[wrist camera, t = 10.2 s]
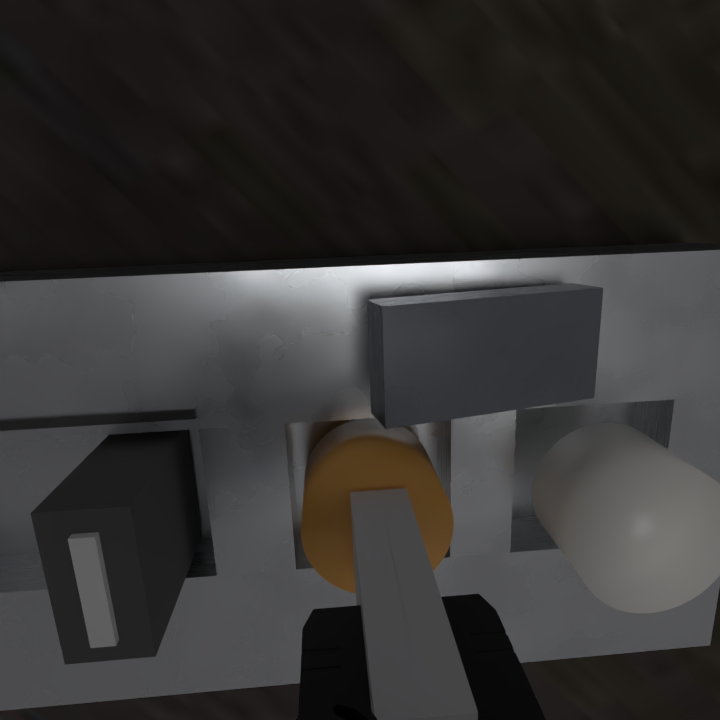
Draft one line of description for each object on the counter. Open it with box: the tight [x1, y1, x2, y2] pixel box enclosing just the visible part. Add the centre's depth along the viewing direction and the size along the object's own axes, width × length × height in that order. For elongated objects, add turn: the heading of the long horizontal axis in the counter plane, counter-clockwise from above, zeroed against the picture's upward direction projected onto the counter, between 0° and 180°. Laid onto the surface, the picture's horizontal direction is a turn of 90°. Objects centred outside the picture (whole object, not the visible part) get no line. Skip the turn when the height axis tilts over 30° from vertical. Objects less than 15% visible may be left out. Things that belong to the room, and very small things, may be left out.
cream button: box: [532, 423, 720, 613], centre depth 15 cm, size 4×4×3 cm
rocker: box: [367, 283, 603, 429], centre depth 14 cm, size 6×3×1 cm, turn 91°
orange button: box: [301, 419, 454, 594], centre depth 16 cm, size 4×4×3 cm
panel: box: [0, 242, 720, 711], centre depth 18 cm, size 28×14×5 cm, turn 92°
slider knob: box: [30, 430, 202, 665], centre depth 15 cm, size 2×4×5 cm, turn 2°
